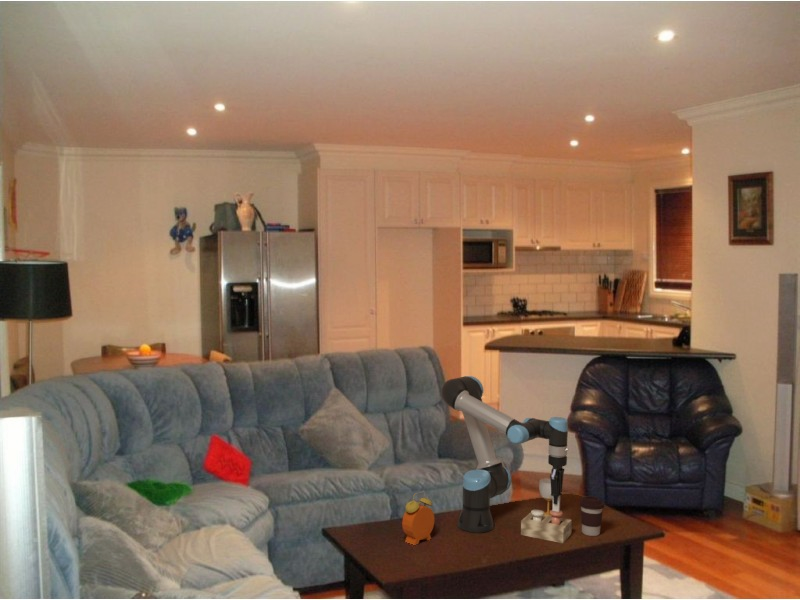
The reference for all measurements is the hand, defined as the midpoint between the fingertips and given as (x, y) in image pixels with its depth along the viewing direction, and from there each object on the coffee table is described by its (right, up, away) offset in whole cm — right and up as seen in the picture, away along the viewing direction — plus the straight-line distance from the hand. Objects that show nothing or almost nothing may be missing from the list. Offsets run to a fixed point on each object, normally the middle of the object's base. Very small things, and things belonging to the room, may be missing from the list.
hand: (556, 510), depth 310 cm
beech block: (-4, -11, +2) cm, 11 cm away
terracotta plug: (0, -9, 0) cm, 9 cm away
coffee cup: (+16, -11, +5) cm, 20 cm away
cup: (+2, -10, +25) cm, 27 cm away
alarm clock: (-58, -10, -7) cm, 59 cm away
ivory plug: (-7, -10, +4) cm, 13 cm away
